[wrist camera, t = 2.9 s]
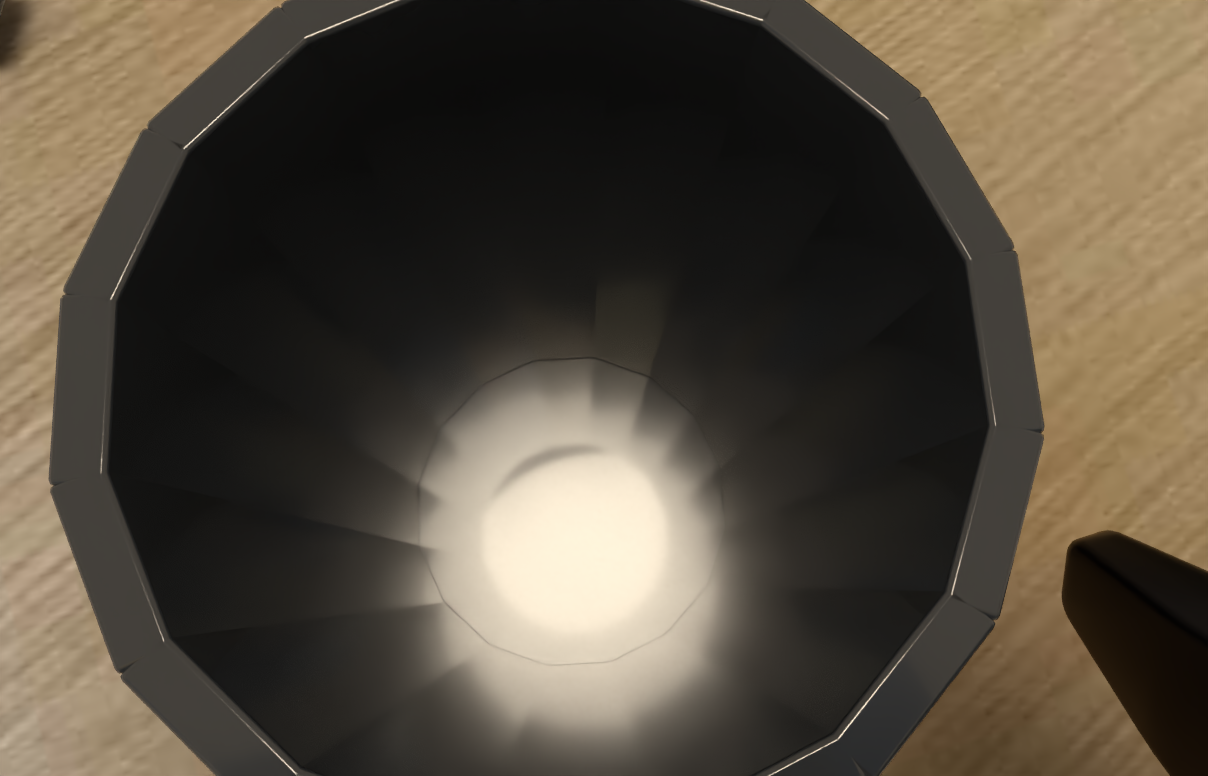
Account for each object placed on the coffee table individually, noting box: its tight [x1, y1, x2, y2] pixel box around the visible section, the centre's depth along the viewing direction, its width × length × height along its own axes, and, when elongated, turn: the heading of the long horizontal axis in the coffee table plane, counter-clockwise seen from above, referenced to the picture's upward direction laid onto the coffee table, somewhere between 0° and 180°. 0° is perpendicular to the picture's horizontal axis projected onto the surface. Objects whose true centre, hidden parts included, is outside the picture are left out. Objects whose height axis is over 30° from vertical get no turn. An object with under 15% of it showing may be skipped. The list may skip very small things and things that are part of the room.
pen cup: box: [49, 0, 1044, 776], centre depth 13 cm, size 7×7×13 cm
